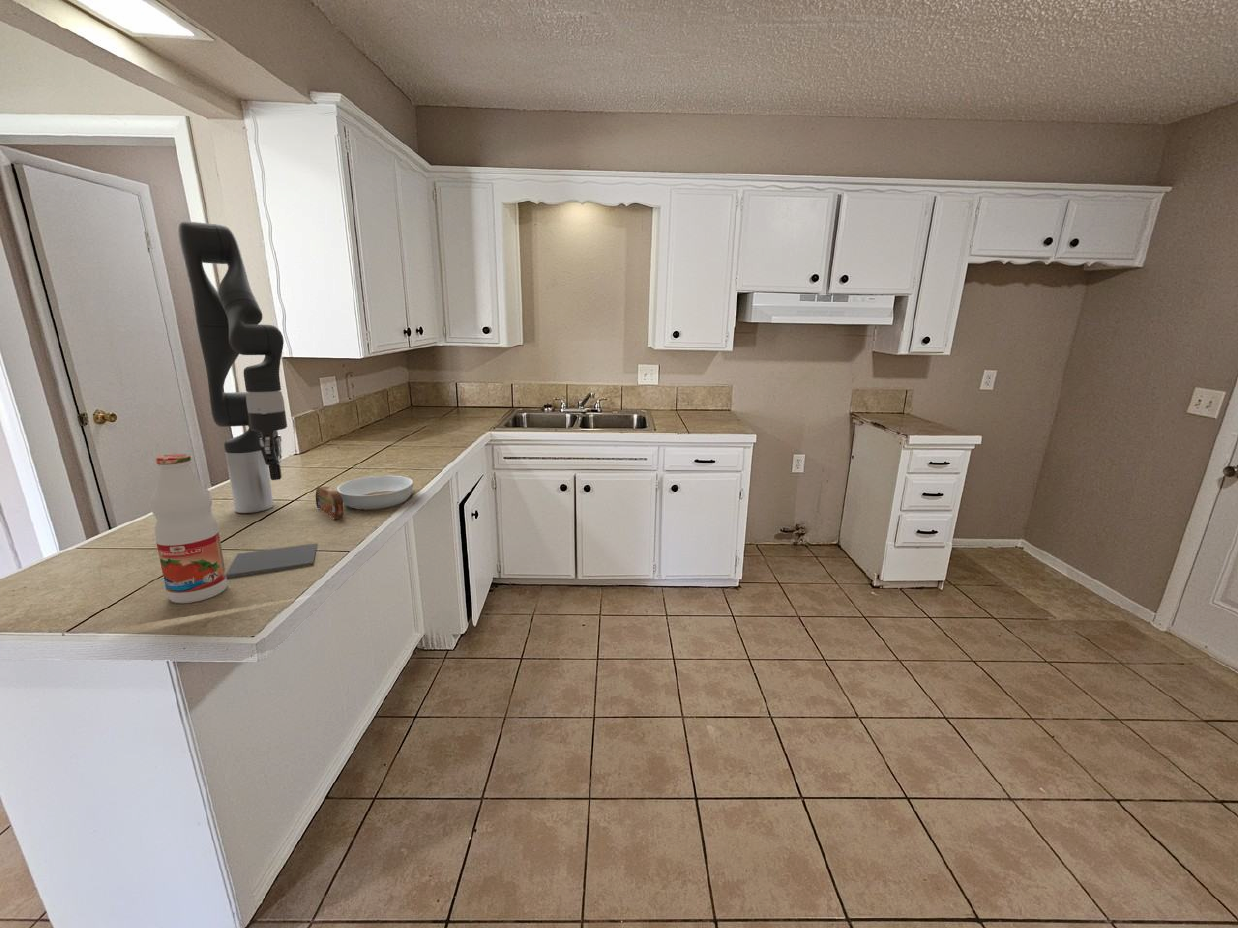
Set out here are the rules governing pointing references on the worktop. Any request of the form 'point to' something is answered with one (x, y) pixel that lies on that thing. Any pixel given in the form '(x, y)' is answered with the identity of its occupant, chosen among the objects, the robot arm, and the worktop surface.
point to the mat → (272, 560)
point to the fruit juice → (186, 533)
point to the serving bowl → (359, 487)
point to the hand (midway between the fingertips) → (276, 479)
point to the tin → (330, 502)
